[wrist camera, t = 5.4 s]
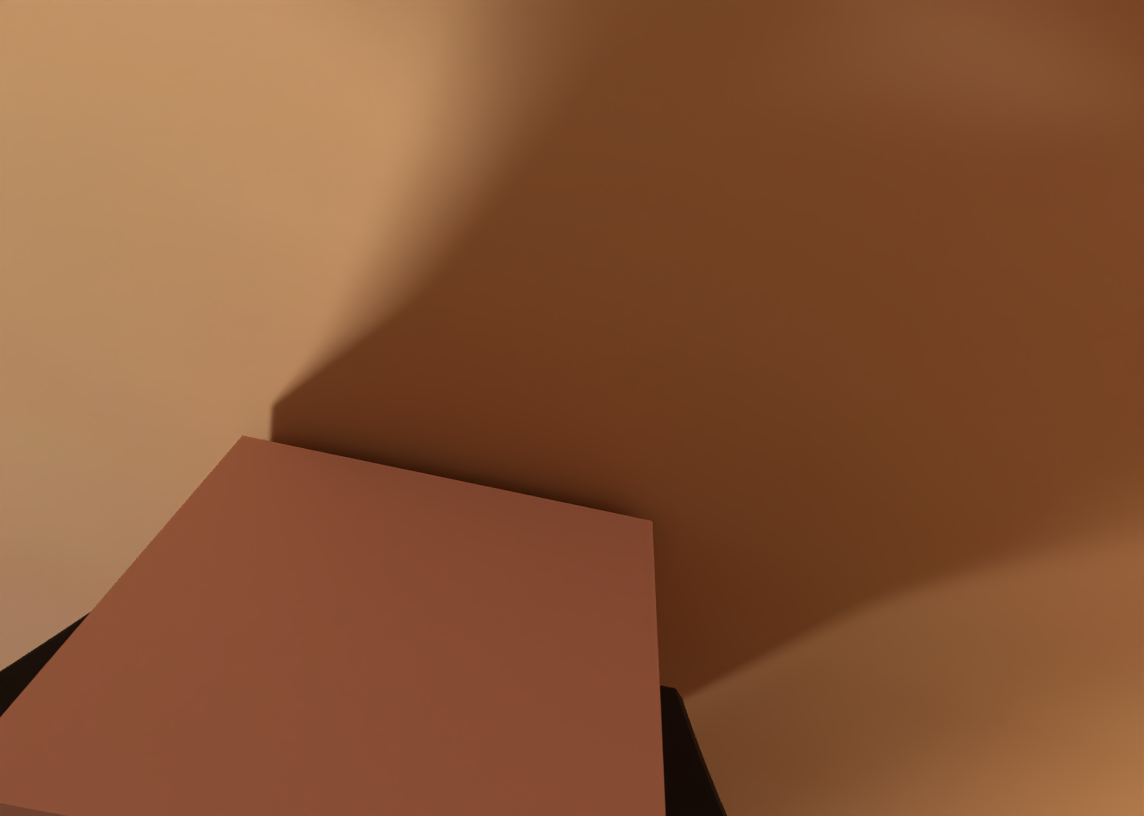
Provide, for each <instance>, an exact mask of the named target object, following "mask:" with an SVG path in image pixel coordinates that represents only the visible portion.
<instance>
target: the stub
mask: <svg viewBox="0 0 1144 816" xmlns="http://www.w3.org/2000/svg"><path fill="white" fill-rule="evenodd" d="M0 816H666V814H665V792H664V769H663V747H662V724H661V702H660V679H659V657H658V634H657V612H656V589H655V567H654V544H653V522H652V521H650V520H646V519H641V518H636V517H631V516H626V515H622V514H617V513H612V512H607V511H602V510H598V509H593V508H588V507H583V506H578V505H574V504H569V503H564V502H559V501H554V500H550V499H545V498H540V497H535V496H530V495H526V494H521V493H516V492H511V491H506V490H502V489H497V488H492V487H487V486H482V485H478V484H473V483H468V482H463V481H458V480H453V479H449V478H444V477H439V476H434V475H429V474H425V473H420V472H415V471H410V470H405V469H401V468H396V467H391V466H386V465H381V464H377V463H372V462H367V461H362V460H357V459H353V458H348V457H343V456H338V455H333V454H329V453H324V452H319V451H314V450H309V449H305V448H300V447H295V446H290V445H285V444H281V443H276V442H271V441H266V440H261V439H257V438H252V437H247V436H242V437H241V438H240V439H239V440H238V441H237V443H236V444H235V445H234V446H233V447H232V448H231V450H230V451H229V452H228V453H227V454H226V455H225V457H224V458H223V459H222V460H221V461H220V462H219V464H218V465H217V466H216V467H215V468H214V469H213V471H212V472H211V473H210V474H209V475H208V476H207V478H206V479H205V480H204V481H203V482H202V483H201V484H200V486H199V487H198V488H197V489H196V490H195V491H194V493H193V494H192V495H191V496H190V497H189V498H188V500H187V501H186V502H185V503H184V504H183V505H182V507H181V508H180V509H179V510H178V511H177V512H176V514H175V515H174V516H173V517H172V518H171V519H170V521H169V522H168V523H167V524H166V525H165V526H164V528H163V529H162V530H161V531H160V532H159V533H158V535H157V536H156V537H155V538H154V539H153V540H152V541H151V543H150V544H149V545H148V546H147V547H146V548H145V550H144V551H143V552H142V553H141V554H140V555H139V557H138V558H137V559H136V560H135V561H134V562H133V564H132V565H131V566H130V567H129V568H128V569H127V571H126V572H125V573H124V574H123V575H122V576H121V578H120V579H119V580H118V581H117V582H116V583H115V585H114V586H113V587H112V588H111V589H110V590H109V592H108V593H107V594H106V595H105V596H104V597H103V598H102V600H101V601H100V602H99V603H98V604H97V605H96V607H95V608H94V609H93V610H92V611H91V612H90V614H89V615H88V616H87V617H86V618H85V619H84V621H83V622H82V623H81V624H80V625H79V626H78V628H77V629H76V630H75V631H74V632H73V633H72V635H71V636H70V637H69V638H68V639H67V640H66V642H65V643H64V644H63V645H62V646H61V647H60V649H59V650H58V651H57V652H56V653H55V654H54V655H53V657H52V658H51V659H50V660H49V661H48V662H47V664H46V665H45V666H44V667H43V668H42V669H41V671H40V672H39V673H38V674H37V675H36V676H35V678H34V679H33V680H32V681H31V682H30V683H29V685H28V686H27V687H26V688H25V689H24V690H23V692H22V693H21V694H20V695H19V696H18V697H17V699H16V700H15V701H14V702H13V703H12V704H11V706H10V707H9V708H8V709H7V710H6V711H5V712H4V714H3V715H2V716H1V717H0Z"/></svg>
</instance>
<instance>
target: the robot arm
mask: <svg viewBox="0 0 1144 816" xmlns="http://www.w3.org/2000/svg"><path fill="white" fill-rule="evenodd" d="M89 614H90V613H88V614H87V615H85V616H84V617H82V618H81V619H79V620H78V621H76V622H75V623H73V624H72V625H70V626H69V627H67V628H66V629H64V630H63V631H61V632H60V633H58V634H57V635H55V636H54V637H52V638H51V639H49V640H48V641H46V642H45V643H43V644H42V645H40V646H38V647H37V648H35V649H34V650H32V651H31V652H29V653H28V654H26V655H25V656H23V657H22V658H20V659H19V660H17V661H16V662H14V663H13V664H11V665H9V666H8V667H6V668H5V669H3V670H2V671H0V717H1V716H2V715H3V714H4V712H5V711H6V710H7V709H8V708H9V707H10V706H11V704H12V703H13V702H14V701H15V700H16V699H17V697H18V696H19V695H20V694H21V693H22V692H23V690H24V689H25V688H26V687H27V686H28V685H29V683H30V682H31V681H32V680H33V679H34V678H35V676H36V675H37V674H38V673H39V672H40V671H41V669H42V668H43V667H44V666H45V665H46V664H47V662H48V661H49V660H50V659H51V658H52V657H53V655H54V654H55V653H56V652H57V651H58V650H59V649H60V647H61V646H62V645H63V644H64V643H65V642H66V640H67V639H68V638H69V637H70V636H71V635H72V633H73V632H74V631H75V630H76V629H77V628H78V626H79V625H80V624H81V623H82V622H83V621H84V619H85V618H86V617H87V616H88V615H89ZM660 702H661V724H662V747H663V769H664V792H665V814H666V816H727V815H726V812H725V810H724V808H723V805H722V803H721V801H720V798H719V796H718V793H717V791H716V788H715V786H714V783H713V781H712V778H711V776H710V773H709V771H708V769H707V766H706V763H705V761H704V758H703V756H702V753H701V750H700V748H699V745H698V742H697V740H696V737H695V734H694V732H693V729H692V726H691V723H690V720H689V718H688V715H687V712H686V709H685V706H684V703H683V700H682V698H681V696H680V695H679V693H678V692H677V690H676V689H675V688H670V687H665V686H660Z"/></svg>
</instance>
